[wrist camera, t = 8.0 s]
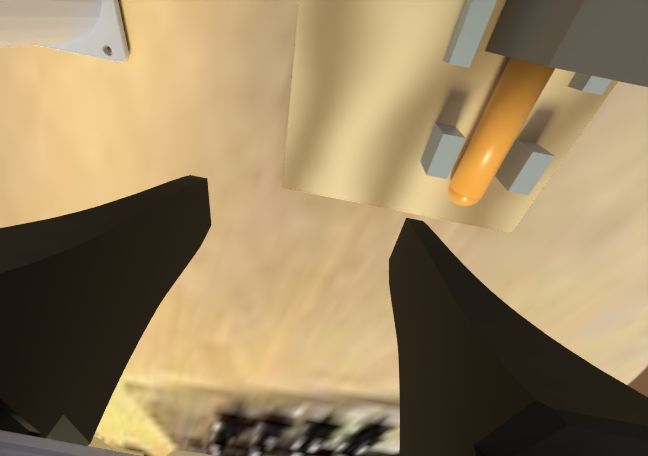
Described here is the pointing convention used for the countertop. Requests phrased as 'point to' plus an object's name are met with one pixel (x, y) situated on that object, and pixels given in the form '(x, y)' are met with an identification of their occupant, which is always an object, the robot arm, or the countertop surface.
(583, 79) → the holder
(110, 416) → the countertop surface
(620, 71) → the plug
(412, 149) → the board
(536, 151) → the clip
